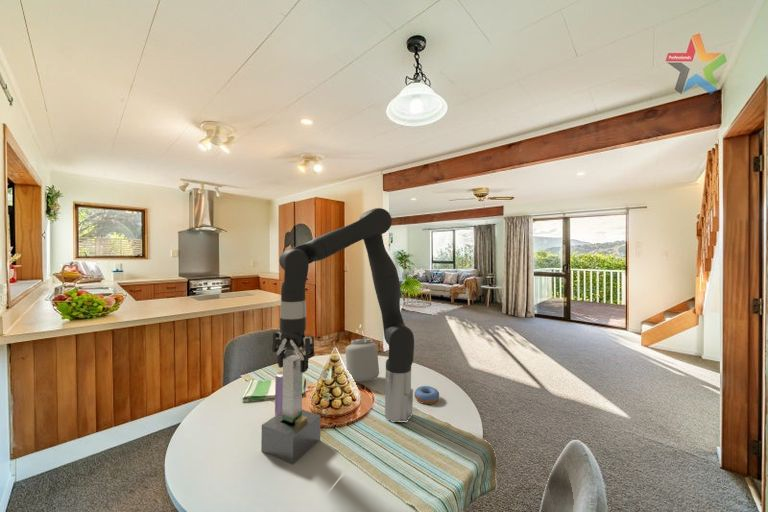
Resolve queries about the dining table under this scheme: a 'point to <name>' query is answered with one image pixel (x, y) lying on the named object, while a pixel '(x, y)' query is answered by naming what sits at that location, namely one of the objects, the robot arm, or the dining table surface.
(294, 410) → the column
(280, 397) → the beverage can
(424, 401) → the doughnut
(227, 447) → the dining table surface
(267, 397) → the dish towel
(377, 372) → the jar
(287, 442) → the base
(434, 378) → the dining table surface
